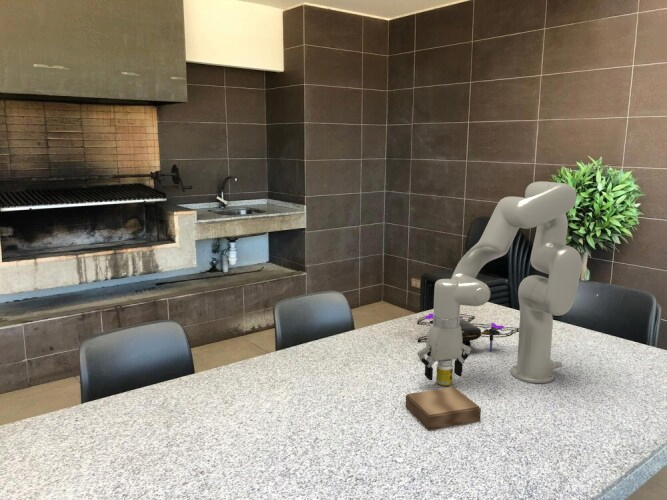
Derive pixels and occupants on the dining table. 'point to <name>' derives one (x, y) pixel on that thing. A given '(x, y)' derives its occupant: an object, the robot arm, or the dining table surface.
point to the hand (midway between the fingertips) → (443, 376)
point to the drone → (472, 330)
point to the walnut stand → (442, 408)
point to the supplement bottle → (444, 374)
